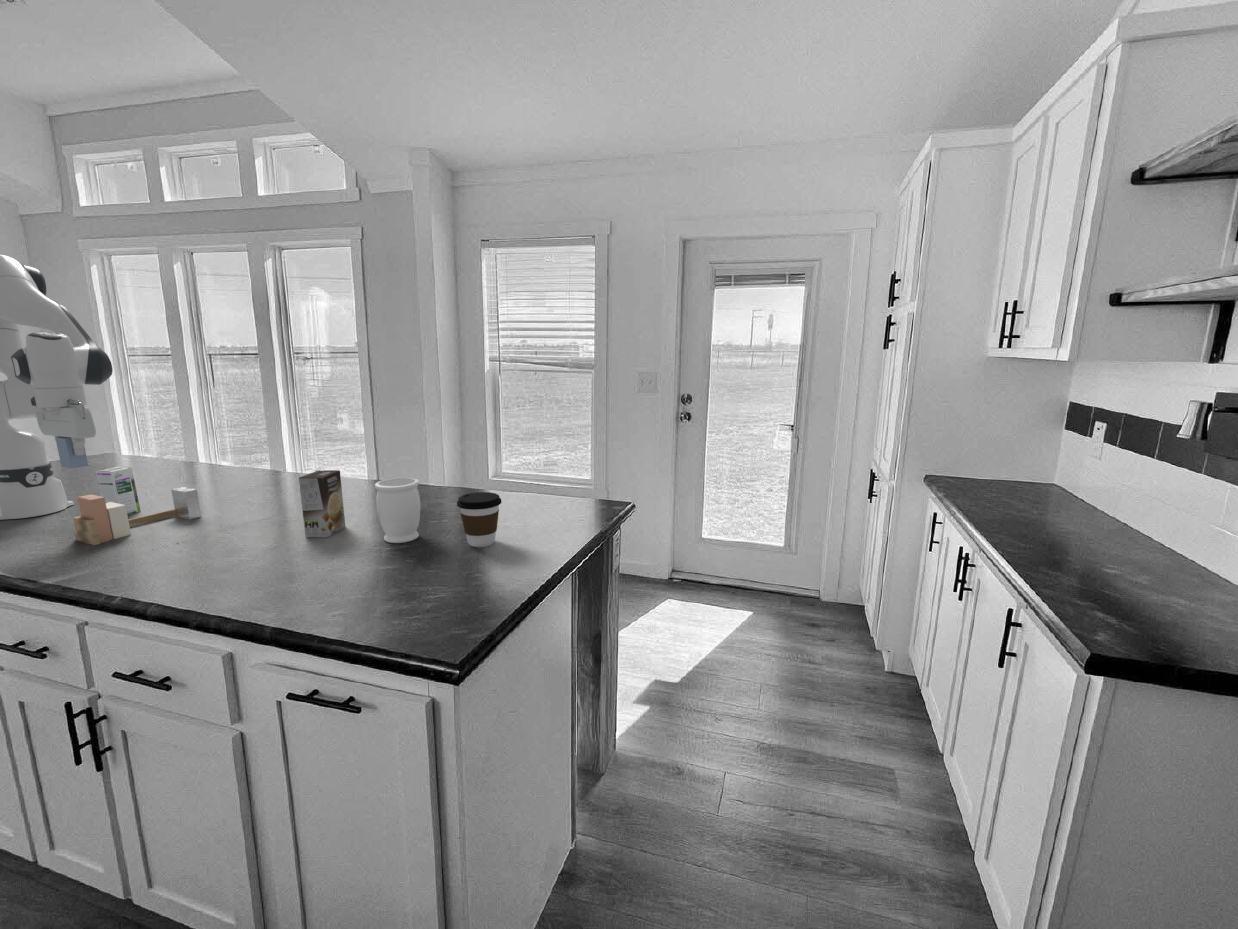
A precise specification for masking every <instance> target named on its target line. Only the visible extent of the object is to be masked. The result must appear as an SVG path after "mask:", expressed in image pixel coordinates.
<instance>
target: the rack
mask: <svg viewBox="0 0 1238 929" xmlns="http://www.w3.org/2000/svg"><path fill="white" fill-rule="evenodd" d="M174 517H176V513H175V508H172V509H168V510H163V511H159V512H155V513H151V514H146V515H142V516H138V517H134V518H128V521H129V526H130V528H133V527H137V526H141V525H146V524H149V523H153V522H157V521H161V520H165V519H169V518H174ZM72 519H73V523H74V524H73V525H74V528H75V529H74V530H75V531H74V532H73V533H74V539H75V541H79V542H82V543H84V544H88V545H92V546H96V545H97V546H98V545H100V544H104V543H109V542H112V539H111V540H108V541H104V542H100V540H99V535H98V530H97V525H96V520H92V519H88V518H84V517H81V515H79V516H74V517H72Z"/></svg>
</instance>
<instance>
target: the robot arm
mask: <svg viewBox="0 0 1238 929" xmlns="http://www.w3.org/2000/svg"><path fill="white" fill-rule="evenodd" d="M47 291H48V284H47V281H46V279H45V276H44V274H43V273H42V272H41V271H40V270H39V269H37V268H35V267H32V266H28V265H25V264H21V263H20V261H18V260H17V259H14V258H13V257H10V256H8V255H5V254H4V255H3V254H0V373H2V374H3V375H5V376H6V378H7V379H4V380H0V521H3V520H4V521H5V520H17V519H18V520H19V519H27V518H34V517H38V516H39V517H40V516H45V515H49V514H53V513H56V512H61V511H62V510H65V509H67V507H71V506H73V505H74V504H75V502H74V501H73V500H68V499H67V495H66V492H65V489H64V485H63V483H62V481H61V479H59V478H57V477H55V476H54V468H53V466H52V463H50V461H49V456H48V453H47V448H46V444H45V439H43V438H42V436H40V435H38V434H36V433H34V432H31V431H28V430H24V429H20V428H16V427H14V426H12V425H11V424H10V422H9V421H10V420H11V421H12V420H17V419H19V420H21V419H33V418H34V419H35V418H36V421H37V424H38V428H39V430H40V432H41V433H42V434H43V435H44V436H50V437H52V436H53V437H54V441H55V442H56V439H55V438H56V437H69V438H71V440H72V442H73V448H72V451H73V454H74V455H84V454H85V451H86V450H85V451H84V446H85V445H86V439H89V438H95V437H96V434H97V430H96V426H95V422H94V419H93V416H92V413H91V410H90V408H88V407H87V406H86V405H87V400H86V394H85V390H84V385H91V386H92V385H94V386H95V385H98V386H99V385H102V384H103V383H105V382H106V381H107V380H108V379H110V378H111V376H112V375H113V372H114V371H113V364H112V361H111V359H110V357H109V355H108V353H106V352H105V351H104V350H103V349H102V348H101V347H100V346H98V345H97V344H96V342H95V341H94V340H93V339H92V337H91V336H90V335H89V334H88V333H87V332H86V330H85V328H83V326H82V325H81V324H80V322H79V321H78V320H77V319H76V318H75V316H74V315H73V314H72V313H71V312H70V311H69V310H68V309H67V308H66V307H65V306H64V305H62V304H60V303H57V302H55V301H53V300H52V299H51V298H48V297H47ZM20 325H21V326H26V327H32V328H37V329H42V330H47V331H46V332H45V331H42V332H41V331H38V332H31V333H28V334H27V335H26V337H25V344H24V341H23V337H22V332H21V329H20ZM48 331H49V332H48ZM24 345H25V346H24Z"/></svg>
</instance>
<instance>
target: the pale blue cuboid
mask: <svg viewBox="0 0 1238 929" xmlns="http://www.w3.org/2000/svg"><path fill="white" fill-rule="evenodd" d="M55 439H56V441H55V442H56V448H57V451H58V456H59V457H58V458H59V460H60V461H59V462H60V467H61V468H67V469H76V468H77V469H78V468H83V467H89V461H88V458H87V453H86V452H87V451H86V448H85V447H86V446H85V445H84V451H85V454H84V455H74V454H73V451H72V448H73V442H72V440H71V438H69V437H56V438H55V437H54V440H55Z"/></svg>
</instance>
